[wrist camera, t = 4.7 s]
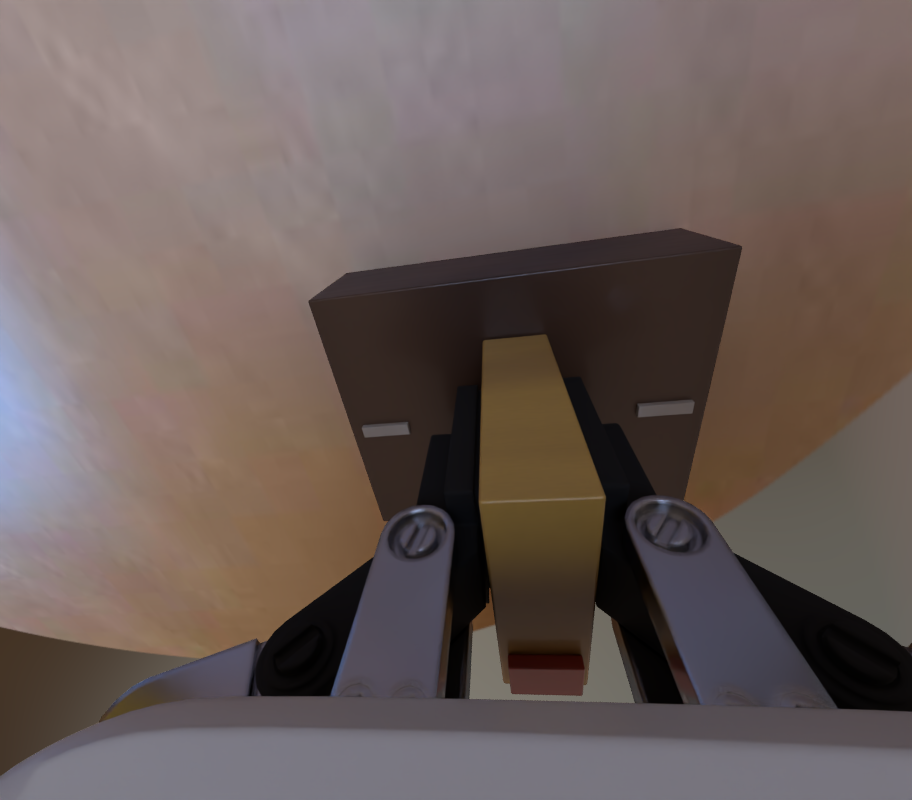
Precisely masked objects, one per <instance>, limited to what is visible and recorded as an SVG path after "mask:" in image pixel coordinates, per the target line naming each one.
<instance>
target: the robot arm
mask: <svg viewBox="0 0 912 800" xmlns="http://www.w3.org/2000/svg"><path fill="white" fill-rule="evenodd" d="M563 381H564V384H565V387H566V389H567V392H568V395H569V398H570V400H571V403H572V406H573V408H574V411H575V414H576V417H577V419H578V422H579V425H580V428H581V430H582V433H583V436H584V439H585V441H586V444H587V447H588V449H589V452H590V455H591V458H592V460H593V463H594V466H595V469H596V471H597V474H598V477H599V479H600V482H601V485H602V488H603V490H604V493H605V496H606V502H605V512H604V522H603V532H602V541H601V551H600V561H599V571H598V581H597V591H596V601H595V602H596V605H597V607H598V608H600V609H601V610H602V611H604V612H605V613H606V614H608V615H609V616H610V617H611V620H612V626H613V630H614V634H615V637H616V640H617V644H618V647H619V650H620V654H621V657H622V660H623V664H624V667H625V671H626V674H627V678H628V681H629V684H630V688H631V691H632V694H633V698H634V701H635V703H611V702H610V703H609V702H569V701H528V700H527V701H526V700H487V699H469V695H470V673H471V653H472V633H473V624H472V620H473V619H474V618H475V617H476V616H477V615H478V614H479V613H480V612H481V611H482V610H483V609H484V608H485V607H486V603H489V588H490V581H489V574H488V567H487V560H486V552H485V545H484V538H483V531H482V524H481V516H480V509H479V465H480V424H481V390H479V388H478V385H469V386H458V388H457V395H456V402H455V410H454V417H453V425H452V432H451V434H440V435H432V436H431V439H430V443H429V447H428V452H427V457H426V462H425V466H424V471H423V476H422V481H421V485H420V490H419V495H418V500H417V504H416V506H412V507H409V508H407V509H404V510H402V511H400V512H399V513H397V514H396V515H394V516H393V517H392V518H391V519H390V520H389V521H388V522H387V523H386V525H385V527H384V529H383V531H382V533H381V536H380V539H379V542H378V545H377V548H376V551H375V555H374V557H373V558H371V559H370V560H369V561H367V562H366V563H365V564H363V565H362V566H361V567H359V568H358V569H357V570H355V571H354V572H352V573H351V574H350V575H348V576H347V577H346V578H344V579H343V580H342V581H340V582H339V583H337V584H336V585H335V586H333V587H332V588H331V589H329V590H328V591H327V592H325V593H324V594H323V595H321V596H320V597H318V598H317V599H316V600H314V601H313V602H312V603H310V604H309V605H308V606H306V607H305V608H304V609H302V610H301V611H299V612H298V613H297V614H295V615H294V616H293V617H291V618H290V619H289V620H287V621H286V622H285V623H284V624H283V625H282V626H280V627H279V628H278V629H277V630H276V631H275V632H274V633H273V634H272V636H271V637H270V638H269V640H268V641H265V642H262V643H260V642H259V641H258V640H257V638H256V639H254V640H251V641H248V642H245V643H243V644H240V645H237V646H234V647H232V648H229V649H226V650H223V651H221V652H218V653H215V654H212V655H210V656H207V657H204V658H201V659H199V660H196V661H193V662H190V663H188V664H185V665H182V666H180V667H177V668H174V669H171V670H169V671H166V672H163V673H160V674H158V675H155V676H152V677H150V678H148V679H146V680H144V681H142V682H140V683H138V684H136V685H134V686H133V687H131V688H130V689H129V690H128V691H126V692H125V693H124V694H123V695H121V696H120V697H119V698H118V699H117V700H116V701H115V702H114V703H113V704H112V705H111V707H110V708H109V709H108V710H107V711H106V712H105V714H104V715H103V716H102V717H101V719H100V721H99V723H97V724H95V725H93V726H91V727H88V728H86V729H83V730H81V731H79V732H77V733H74V734H72V735H70V736H68V737H66V738H64V739H62V740H60V741H58V742H56V743H54V744H52V745H50V746H48V747H46V748H44V749H43V750H41V751H39V752H37V753H36V754H34V755H32V756H30V757H29V758H27V759H25V760H24V761H22V762H21V763H19V764H17V765H16V766H14V767H13V768H11V769H10V770H9V771H7V772H6V773H4V774H3V775H2V776H0V800H912V643H911V644H910V646H909V647H904V646H901V645H900V644H899V643H898V642H897V641H895V640H894V639H893V638H892V637H890V636H889V635H888V634H887V633H885V632H883V631H882V630H880V629H879V628H877V627H875V626H874V625H872V624H870V623H869V622H867V621H865V620H864V619H862V618H860V617H858V616H856V615H854V614H852V613H850V612H848V611H846V610H844V609H842V608H840V607H838V606H836V605H834V604H832V603H830V602H828V601H826V600H824V599H822V598H821V597H819V596H817V595H815V594H813V593H811V592H809V591H807V590H805V589H803V588H801V587H799V586H797V585H795V584H793V583H791V582H789V581H787V580H785V579H784V578H782V577H779V576H778V575H776V574H774V573H772V572H770V571H768V570H766V569H764V568H762V567H760V566H758V565H756V564H754V563H752V562H750V561H748V560H746V559H744V558H742V557H740V556H739V555H737V554H735V553H733V552H732V550H731V549H730V547H729V546H728V544H727V543H726V541H725V540H724V538H723V537H722V535H721V534H720V532H719V531H718V529H717V528H716V526H715V525H714V523H713V522H712V521H711V520H710V519H709V518H708V517H707V515H706V514H705V513H704V512H702V511H701V510H699V509H698V508H696V507H695V506H694V505H692V504H690V503H687V502H685V501H683V500H681V499H677V498H673V497H669V496H662V495H656V493H655V491H654V489H653V487H652V485H651V483H650V481H649V479H648V478H647V476H646V474H645V472H644V470H643V468H642V466H641V464H640V462H639V460H638V459H637V457H636V455H635V453H634V451H633V449H632V447H631V445H630V443H629V441H628V440H627V438H626V436H625V434H624V432H623V430H622V428H621V427H620V425H619V424H617V423H608V424H602V423H601V420H600V418H599V416H598V414H597V412H596V410H595V407H594V405H593V403H592V401H591V399H590V396H589V394H588V392H587V390H586V388H585V386H584V383H583V381H582V379H581V377H567V378H563Z"/></svg>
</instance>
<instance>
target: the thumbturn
mask: <svg viewBox="0 0 912 800" xmlns="http://www.w3.org/2000/svg"><path fill="white" fill-rule="evenodd" d="M605 502H606V496H605V493H604V490H603V488H602V485H601V482H600V479H599V477H598V474H597V471H596V469H595V466H594V463H593V460H592V458H591V455H590V452H589V449H588V447H587V444H586V441H585V439H584V436H583V433H582V430H581V428H580V425H579V422H578V419H577V417H576V414H575V411H574V408H573V406H572V403H571V400H570V398H569V395H568V392H567V389H566V387H565V384H564V381H563V378H562V376H561V373H560V370H559V367H558V365H557V362H556V359H555V357H554V354H553V351H552V348H551V346H550V343H549V340H548V337H547V335H545V334H544V335H534V336H523V337H513V338H502V339H492V340H484V341H483V343H482V384H481V424H480V465H479V509H480V516H481V524H482V531H483V538H484V545H485V552H486V560H487V567H488V574H489V581H490V588H491V596H492V603H493V610H494V617H495V625H496V632H497V639H498V646H499V653H500V661H501V667H502V675H503V681H504V683H509V684H510V687H511V693H512V694H534V695H576V696H581V695H582V694H583V685H586V684H587V680H588V670H589V660H590V651H591V640H592V630H593V620H594V611H595V601H596V591H597V581H598V571H599V561H600V551H601V541H602V532H603V522H604V512H605Z"/></svg>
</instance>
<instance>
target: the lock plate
mask: <svg viewBox="0 0 912 800" xmlns="http://www.w3.org/2000/svg"><path fill="white" fill-rule="evenodd" d="M741 250H742V246H740V245H736V244H733V243H730V242H726V241H723V240H719V239H716V238H712V237H709V236H706V235H702V234H699V233H695V232H692V231H688V230H685V229H682V228H679V229H671V230H664V231H657V232H649V233H642V234H634V235H627V236H619V237H612V238H605V239H597V240H590V241H582V242H575V243H567V244H560V245H553V246H545V247H538V248H530V249H523V250H516V251H508V252H501V253H493V254H486V255H478V256H471V257H464V258H456V259H449V260H441V261H434V262H426V263H419V264H412V265H404V266H397V267H389V268H382V269H374V270H367V271H360V272H352V273H346V274H345V275H343V276H342V277H341V278H339V279H338V280H337V281H335V282H334V283H332V284H331V285H330V286H328V287H327V288H326V289H324V290H323V291H321V292H320V293H319V294H317V295H316V296H315V297H313V298H312V299H310V300H309V305H310V308H311V311H312V314H313V317H314V320H315V323H316V325H317V328H318V331H319V334H320V337H321V340H322V343H323V346H324V349H325V352H326V355H327V357H328V360H329V363H330V366H331V369H332V372H333V375H334V378H335V381H336V384H337V387H338V390H339V392H340V395H341V398H342V401H343V404H344V407H345V410H346V413H347V416H348V419H349V422H350V424H351V427H352V430H353V433H354V436H355V439H356V442H357V445H358V448H359V451H360V454H361V456H362V459H363V462H364V465H365V468H366V471H367V474H368V477H369V480H370V483H371V486H372V488H373V491H374V494H375V497H376V500H377V503H378V506H379V509H380V512H381V515H382V518H383V520H384V521H389V520H390V519H391V518H392V517H393V516H394V515H396V514H397V513H399V512H400V511H402V510H404V509H407V508H409V507H412V506H416V504H417V500H418V495H419V490H420V485H421V481H422V476H423V471H424V466H425V462H426V457H427V452H428V447H429V443H430V439H431V436H432V435H440V434H451V432H452V425H453V417H454V410H455V402H456V395H457V388H458V386H469V385H478V388H479V390H481V384H482V343H483V341H484V340H492V339H502V338H513V337H523V336H534V335H544V334H545V335H547V337H548V340H549V343H550V346H551V348H552V351H553V354H554V357H555V359H556V362H557V365H558V367H559V370H560V373H561V376H562V378H567V377H581V379H582V381H583V383H584V386H585V388H586V390H587V392H588V394H589V396H590V399H591V401H592V403H593V405H594V407H595V410H596V412H597V414H598V416H599V418H600V420H601V423H602V424H608V423H617V424H619V425H620V427H621V428H622V430H623V432H624V434H625V436H626V438H627V440H628V441H629V443H630V445H631V447H632V449H633V451H634V453H635V455H636V457H637V459H638V460H639V462H640V464H641V466H642V468H643V470H644V472H645V474H646V476H647V478H648V479H649V481H650V483H651V485H652V487H653V489H654V491H655V493H656V495H662V496H669V497H673V498H677V499H681V500H684V496H685V492H686V487H687V483H688V479H689V475H690V470H691V466H692V462H693V457H694V453H695V449H696V444H697V440H698V436H699V431H700V427H701V423H702V419H703V414H704V410H705V406H706V401H707V397H708V393H709V388H710V384H711V380H712V375H713V371H714V367H715V363H716V358H717V354H718V350H719V345H720V341H721V337H722V332H723V328H724V324H725V319H726V315H727V311H728V306H729V302H730V298H731V294H732V289H733V285H734V281H735V276H736V272H737V268H738V263H739V259H740V255H741Z"/></svg>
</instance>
